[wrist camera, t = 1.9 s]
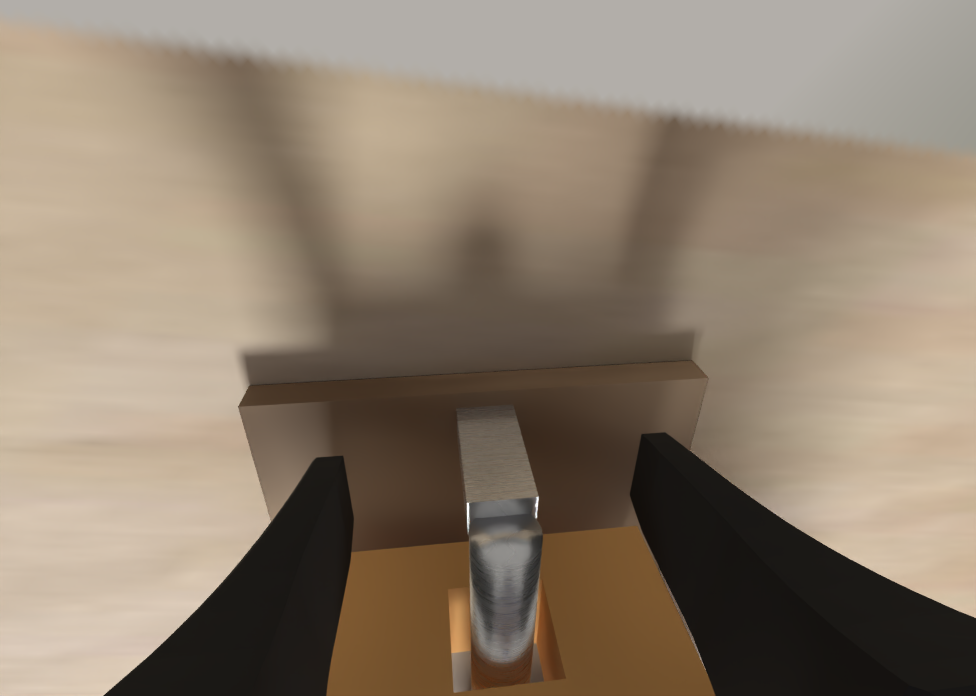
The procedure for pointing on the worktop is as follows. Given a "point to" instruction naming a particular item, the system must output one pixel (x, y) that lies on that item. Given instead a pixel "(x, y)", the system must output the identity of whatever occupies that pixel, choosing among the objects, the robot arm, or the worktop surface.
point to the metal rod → (499, 545)
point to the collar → (558, 628)
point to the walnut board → (435, 454)
